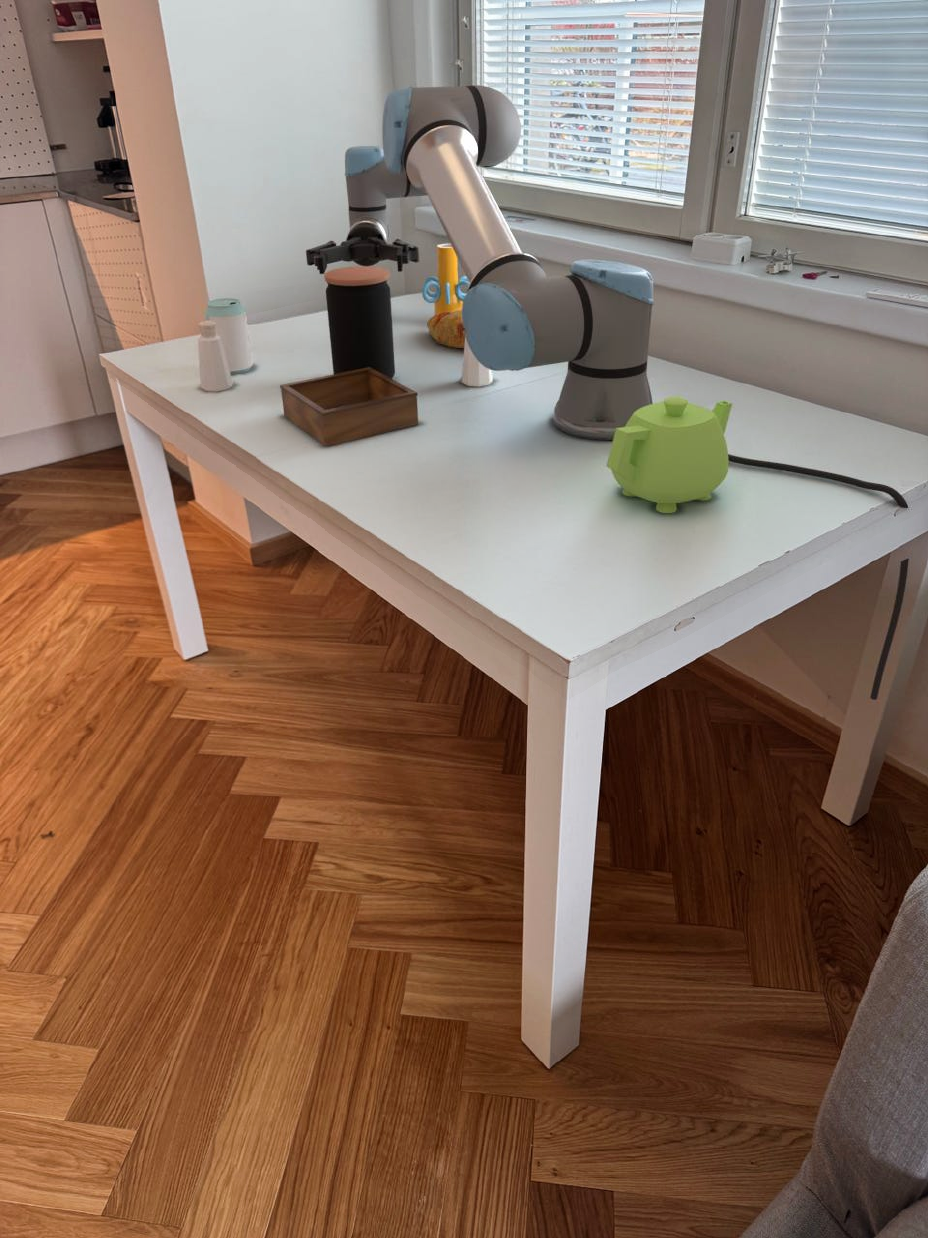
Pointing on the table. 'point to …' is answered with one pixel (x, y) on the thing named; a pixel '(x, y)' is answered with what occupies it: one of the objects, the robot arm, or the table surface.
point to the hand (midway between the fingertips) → (360, 264)
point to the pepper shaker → (474, 370)
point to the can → (232, 332)
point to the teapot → (671, 452)
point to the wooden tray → (342, 424)
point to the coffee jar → (360, 319)
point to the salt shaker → (212, 359)
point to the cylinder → (446, 282)
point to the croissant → (448, 329)
